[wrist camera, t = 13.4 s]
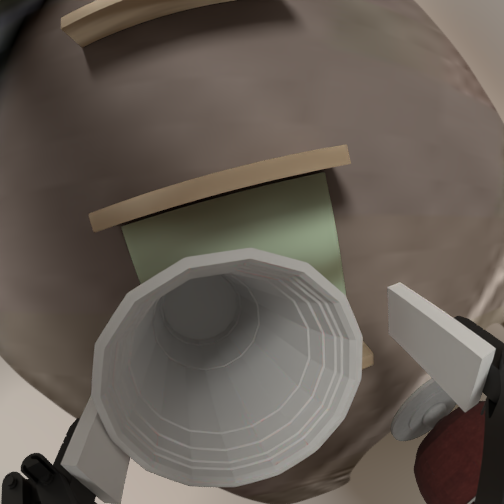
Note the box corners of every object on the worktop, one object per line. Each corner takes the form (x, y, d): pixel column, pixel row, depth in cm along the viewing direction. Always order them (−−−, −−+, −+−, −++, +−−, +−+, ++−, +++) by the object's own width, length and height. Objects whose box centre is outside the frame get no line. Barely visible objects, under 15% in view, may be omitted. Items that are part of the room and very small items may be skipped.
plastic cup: (278, 232, 21) (394, 258, 10) (263, 363, 23) (337, 463, 11) (127, 222, 18) (72, 241, 7) (129, 365, 20) (116, 488, 8)
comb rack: (81, 37, 15) (60, 18, 11) (271, -14, 16) (280, -40, 12) (181, 386, 23) (177, 417, 20) (354, 340, 24) (373, 364, 20)
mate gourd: (382, 403, 27) (466, 532, 8) (470, 346, 27) (568, 431, 8) (387, 458, 31) (438, 551, 12) (458, 413, 31) (521, 487, 12)
